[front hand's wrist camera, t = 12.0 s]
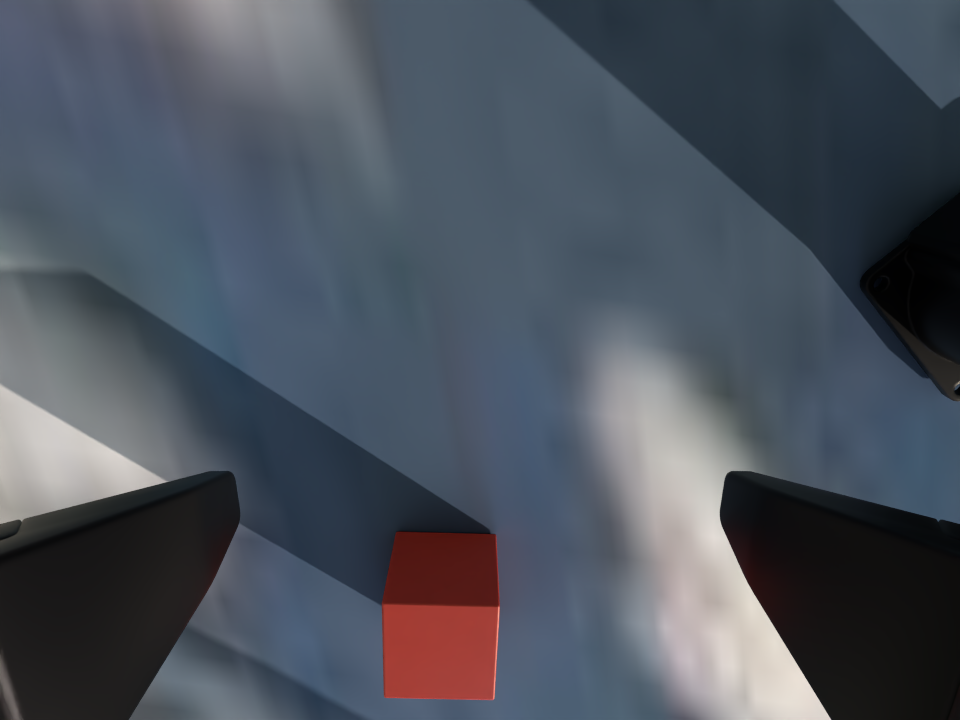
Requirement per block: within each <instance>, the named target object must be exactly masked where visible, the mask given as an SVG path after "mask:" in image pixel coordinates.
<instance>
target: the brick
mask: <svg viewBox="0 0 960 720" xmlns="http://www.w3.org/2000/svg"><path fill="white" fill-rule="evenodd" d="M499 609H500V603H499V583H498V564H497V544H496V535H495V534H468V533H430V532H396V535H395V540H394V545H393V550H392V555H391V560H390V565H389V570H388V575H387V580H386V585H385V590H384V595H383V600H382V632H383V677H384V697H385V698H424V699H471V700H494V695H495V678H496V661H497V644H498V626H499Z"/></svg>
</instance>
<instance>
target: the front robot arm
mask: <svg viewBox="0 0 960 720" xmlns="http://www.w3.org/2000/svg"><path fill="white" fill-rule="evenodd" d="M879 277H881V279H882V281H881V284H880V285H879V286H878V287H876V288H874V282H875V281H876V279H877V278H879ZM860 288H861V290H862V292H863V293H864V294H865V296H866V297H867V298H868V299H869V301H870V302H871V303H872V305H873V306H874V307H875V308H876V310H877V311H878V312H879V314H880V315H881V316H882V317H883V319H884V320H885V321H886V323H887V324H888V325H889V326H890V328H891V329H892V330H893V332H894V333H895V334H896V335H897V337H898V338H899V339H900V341H901V342H902V343H903V344H904V346H905V347H906V348H907V349H908V351H909V352H910V353H911V355H912V356H913V357H914V358H915V360H916V361H917V362H918V364H919V365H920V366H921V367H922V369H923V370H924V371H925V373H926V374H927V375H928V376H929V378H930V379H931V380H932V382H933V383H934V384H935V385H936V387H937V388H938V389H939V391H940V392H941V393H942V394H943V395H944V396H946V397H948V398H949V399H951V400H953V401H960V387H959V388H958V389H957V390H955V391H954V389H955V387H956V386H957V384H959V383H960V193H959V194H958V195H956V196H955V197H954V198H953V199H951V200H950V201H949V202H948V203H946V204H945V205H944V206H943V207H941V208H940V209H939V210H938V211H936V212H935V213H934V214H933V215H931V216H930V217H929V218H928V219H926V220H925V221H924V222H923V223H921V224H920V225H919V226H918V227H916V228H915V229H914V230H913V231H912V232H911V233H910V235H909V237H908V239H906V240H905V241H904V242H903V243H901V244H900V245H899V246H898V247H896V248H895V249H894V250H893V251H891V252H890V253H889V254H888V255H886V256H885V257H884V258H883V259H881V260H880V261H879V262H878V263H876V264H875V265H874V266H873V267H871V268H870V269H869V270H868V271H866V272H865V274H864V275H863V276H862V278H861V280H860ZM239 521H240V507H239V500H238V494H237V487H236V481H235V477H234V475H233V473H231V472H229V471H209V472H205V473H201V474H197V475H193V476H189V477H186V478H182V479H178V480H174V481H170V482H166V483H162V484H158V485H154V486H150V487H147V488H143V489H139V490H135V491H131V492H127V493H123V494H119V495H115V496H111V497H108V498H104V499H100V500H96V501H92V502H88V503H84V504H80V505H76V506H72V507H69V508H65V509H61V510H57V511H53V512H49V513H45V514H41V515H37V516H33V517H30V518H26V519H24V520H23V521H22V522H21V520H15V521H11V522H7V523H3V524H0V720H129V718H130V717H131V715H132V713H133V712H134V710H135V708H136V707H137V705H138V704H139V702H140V700H141V699H142V697H143V695H144V694H145V692H146V691H147V689H148V687H149V686H150V684H151V682H152V681H153V679H154V678H155V676H156V674H157V673H158V671H159V669H160V668H161V666H162V664H163V663H164V661H165V660H166V658H167V656H168V655H169V653H170V651H171V650H172V648H173V647H174V645H175V643H176V642H177V640H178V638H179V637H180V635H181V634H182V632H183V630H184V629H185V627H186V625H187V624H188V622H189V620H190V619H191V617H192V616H193V614H194V612H195V611H196V609H197V607H198V606H199V604H200V603H201V601H202V599H203V598H204V596H205V594H206V593H207V591H208V589H209V587H210V586H211V584H212V582H213V580H214V578H215V576H216V574H217V572H218V570H219V567H220V565H221V563H222V561H223V558H224V556H225V554H226V552H227V549H228V547H229V545H230V543H231V541H232V538H233V536H234V534H235V532H236V529H237V527H238V525H239ZM720 521H721V525H722V527H723V529H724V532H725V534H726V536H727V538H728V541H729V543H730V545H731V547H732V549H733V552H734V554H735V556H736V558H737V561H738V563H739V565H740V567H741V570H742V572H743V574H744V576H745V578H746V580H747V582H748V584H749V586H750V587H751V589H752V591H753V593H754V594H755V596H756V598H757V599H758V601H759V603H760V604H761V606H762V607H763V609H764V611H765V612H766V614H767V616H768V617H769V619H770V620H771V622H772V624H773V625H774V627H775V629H776V630H777V632H778V633H779V635H780V637H781V638H782V640H783V642H784V643H785V645H786V647H787V648H788V650H789V651H790V653H791V655H792V656H793V658H794V660H795V661H796V663H797V664H798V666H799V668H800V669H801V671H802V673H803V674H804V676H805V677H806V679H807V681H808V682H809V684H810V686H811V687H812V689H813V691H814V692H815V694H816V695H817V697H818V699H819V700H820V702H821V704H822V705H823V707H824V708H825V710H826V712H827V713H828V715H829V717H830V718H831V720H960V524H957V523H953V522H949V521H945V520H939V522H938V521H937V520H936V519H934V518H930V517H927V516H923V515H919V514H915V513H911V512H907V511H903V510H899V509H895V508H891V507H888V506H884V505H880V504H876V503H872V502H868V501H864V500H860V499H856V498H852V497H849V496H845V495H841V494H837V493H833V492H829V491H825V490H821V489H817V488H813V487H810V486H806V485H802V484H798V483H794V482H790V481H786V480H782V479H778V478H774V477H771V476H767V475H763V474H759V473H755V472H751V471H731V472H729V473H727V475H726V477H725V481H724V487H723V494H722V500H721V507H720Z"/></svg>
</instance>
